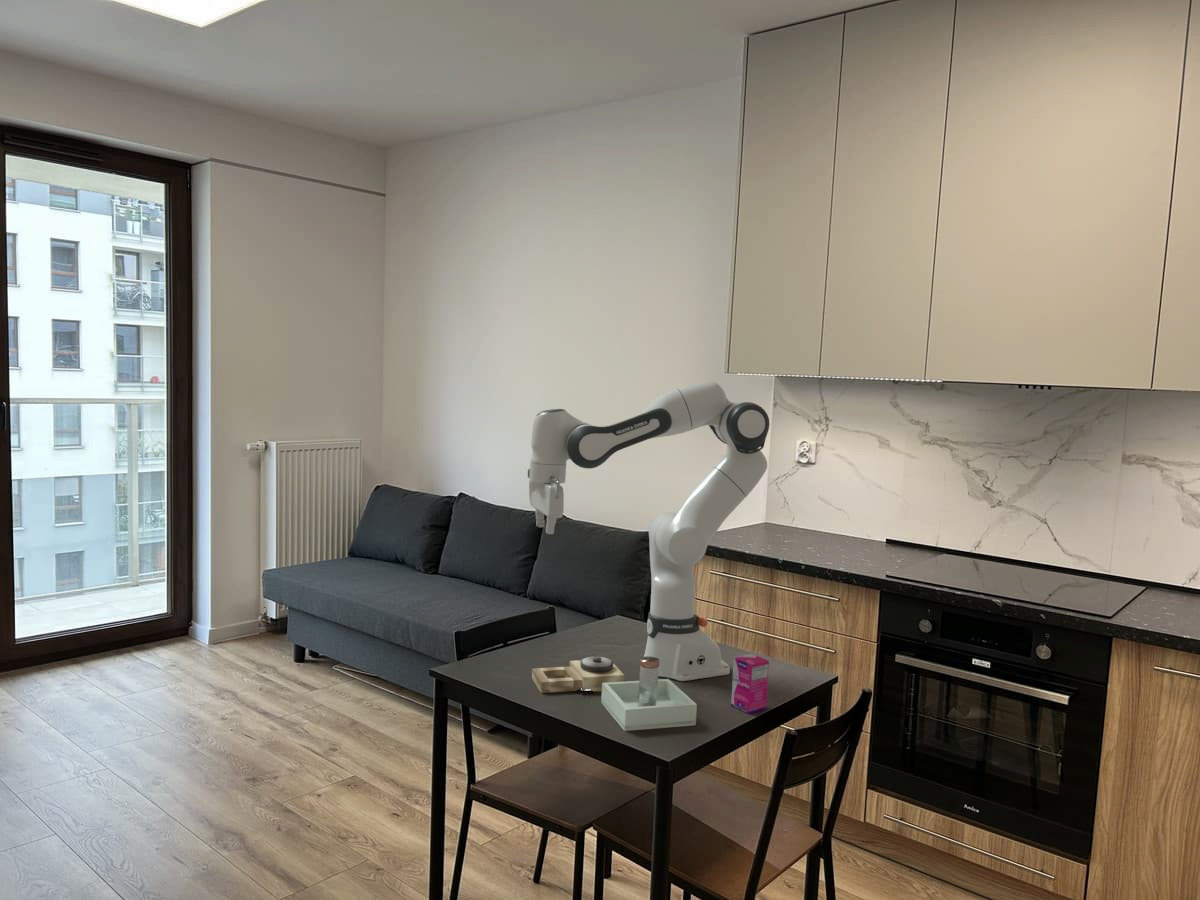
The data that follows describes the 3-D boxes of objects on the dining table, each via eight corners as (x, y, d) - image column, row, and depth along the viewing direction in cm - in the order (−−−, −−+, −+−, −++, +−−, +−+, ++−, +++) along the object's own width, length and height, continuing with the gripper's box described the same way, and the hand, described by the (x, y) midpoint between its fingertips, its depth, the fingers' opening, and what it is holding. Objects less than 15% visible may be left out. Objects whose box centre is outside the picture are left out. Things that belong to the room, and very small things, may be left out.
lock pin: (652, 704, 193) (655, 656, 192) (659, 711, 189) (662, 662, 188) (634, 705, 191) (637, 656, 191) (641, 713, 187) (644, 663, 187)
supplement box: (729, 706, 197) (732, 656, 196) (748, 701, 200) (751, 652, 200) (748, 714, 192) (751, 663, 191) (767, 709, 196) (770, 660, 195)
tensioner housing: (608, 672, 216) (609, 649, 215) (623, 689, 204) (625, 664, 204) (530, 677, 210) (531, 653, 209) (542, 694, 198) (543, 669, 198)
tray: (667, 698, 200) (668, 678, 200) (695, 725, 185) (696, 704, 185) (601, 702, 195) (602, 683, 195) (624, 730, 180) (625, 709, 180)
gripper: (571, 480, 205) (568, 538, 206) (549, 470, 225) (547, 523, 226) (545, 479, 203) (542, 538, 205) (526, 469, 223) (523, 523, 224)
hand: (544, 530), depth 215 cm, fingers open, 8 cm apart
